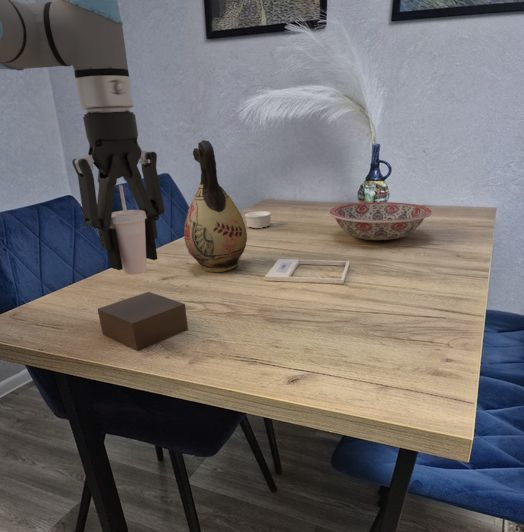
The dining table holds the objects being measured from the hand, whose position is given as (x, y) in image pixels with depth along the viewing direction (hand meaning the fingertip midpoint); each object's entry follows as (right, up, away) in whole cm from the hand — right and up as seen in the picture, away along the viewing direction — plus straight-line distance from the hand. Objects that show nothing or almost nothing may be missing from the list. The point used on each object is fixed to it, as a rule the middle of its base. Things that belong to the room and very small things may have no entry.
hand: (134, 263), depth 80 cm
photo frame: (+33, +4, +33) cm, 47 cm away
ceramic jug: (+11, +6, +40) cm, 41 cm away
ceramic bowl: (+56, +19, +61) cm, 85 cm away
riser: (0, -11, +6) cm, 13 cm away
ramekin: (+20, +28, +82) cm, 89 cm away
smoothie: (0, -1, +1) cm, 2 cm away
